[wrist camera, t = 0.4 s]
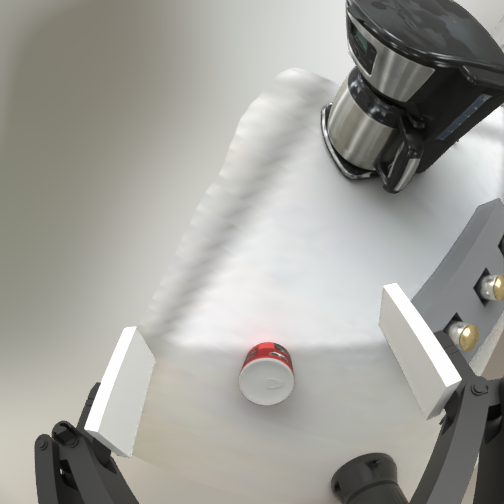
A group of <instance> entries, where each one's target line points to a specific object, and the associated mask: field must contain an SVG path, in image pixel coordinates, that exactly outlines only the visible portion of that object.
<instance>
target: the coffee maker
mask: <svg viewBox="0 0 504 504" xmlns="http://www.w3.org/2000/svg"><path fill="white" fill-rule="evenodd" d="M346 27H347V40H348V48H349V51H350V54H351V56H352V58H353V61H354V62H355V64H356V66H355V67H354V68H353V69H352V70H351V71H350V73H349V74H348V76H347V77H346V79H345V80H344V82H343V83H342V85H341V87H340V89H339V91H338V93H337V95H336V97H335V99H334V102H333V103H329V104H326V105H325V106H323V109H322V112H321V125H322V132H323V136H324V139H325V143H326V145H327V148H328V150H329V152H330V154H331V156H332V158H333V160H334V161H335V163H336V164H337V166H338V168H339V169H340V170H341V172H342V173H343V174H344V175H345V176H347V177H348V178H350V179H353V180H360V179H367V178H374V177H381V179H382V181H383V182H384V183H385V184H384V186H383V188H384V189H385V190H386V191H387V192H389V193H395V194H396V193H398V192H399V191H401V190H402V189H403V188H404V187H405V186H406V185H407V184H408V183H409V181H410V180H411V178H412V177H413V175H414V174H416V173H421V172H423V171H425V170H426V169H428V168H429V167H430V166H431V165H432V164H433V163H434V162H435V161H436V160H437V159H438V158H439V157H440V156H441V155H442V154H443V153H445V152H446V151H447V150H448V149H449V148H450V147H451V146H452V145H453V144H454V143H455V142H456V141H457V142H458V141H459V139H460V138H461V137H462V136H463V135H465V134H466V133H467V132H468V131H470V129H471V128H473V127H474V126H475V125H476V124H478V123H479V122H480V121H482V120H483V119H484V118H485V117H487V116H488V115H489V114H490V113H491V112H493V111H494V110H495V109H496V108H498V107H499V106H500V105H501V104H503V103H504V52H503V51H502V49H501V48H500V47H499V45H498V44H497V43H496V41H495V40H494V39H493V38H492V36H491V35H490V34H489V33H488V32H487V30H486V29H485V28H484V27H483V26H482V25H481V24H480V23H479V22H478V21H477V20H476V19H475V18H474V17H473V16H472V15H471V14H470V13H469V12H468V11H467V10H465V9H464V8H463V7H462V6H460V5H459V4H457V3H456V2H454V1H453V0H346Z"/></svg>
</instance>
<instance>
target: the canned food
mask: <svg viewBox="0 0 504 504" xmlns="http://www.w3.org/2000/svg"><path fill="white" fill-rule="evenodd" d="M239 388H240V391H241V393H242V394H243V395H244V397H245V398H246V399H248V400H249V401H250V402H252V403H254V404H258V405H262V406H271V405H276V404H279V403H281V402H283V401H284V400H285V399H287V398H288V397H289V395H290V394H291V393H292V391H293V388H294V373H293V368H292V362H291V358H290V355H289V353H288V351H287V350H286V349H285V348H284V347H282V346H281V345H279V344H276V343H270V342H267V343H261V344H258V345H256V346H255V347H253V348H252V349H251V350H250V351H249V353H248V355H247V357H246V360H245V362H244V365H243V367H242V370H241V372H240V375H239Z"/></svg>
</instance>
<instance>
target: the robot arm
mask: <svg viewBox="0 0 504 504" xmlns="http://www.w3.org/2000/svg"><path fill="white" fill-rule="evenodd" d="M379 326H380V328H381V330H382V332H383V334H384V336H385V338H386V339H387V341H388V343H389V345H390V347H391V349H392V351H393V353H394V355H395V357H396V359H397V361H398V363H399V365H400V367H401V369H402V371H403V373H404V375H405V377H406V379H407V381H408V383H409V385H410V388H411V390H412V392H413V394H414V396H415V398H416V401H417V403H418V405H419V407H420V410H421V412H422V414H423V416H424V419H425V421H426V420H428V419H431V418H433V417H435V416H437V415H439V414H440V413H441V411H442V410H443V409H445V411H446V414H445V416H444V417H443V419H442V420H441V422H440V423H439V424H440V425H441V424H442V423H443V424H442V427H441V430H440V433H439V436H438V439H437V442H436V445H435V447H434V450H433V453H432V455H431V458H430V460H429V462H428V465H427V467H426V470H425V472H424V474H423V476H422V478H421V481H420V483H419V485H418V487H417V489H416V491H415V493H414V495H413V497H412V499H411V501H410V503H409V502H408V501H407V499H406V497H405V496H404V494H403V492H402V490H401V489H400V487H399V485H398V484H397V467H396V464H395V462H394V461H393V459H392V458H391V457H390V456H389V455H387V454H383V453H371V454H366V455H362V456H360V457H357V458H355V459H353V460H351V461H349V462H348V463H346V464H345V465H343V466H342V467H341V468H340V469H339V470H338V471H337V472H336V473H335V475H334V476H333V479H332V482H331V486H332V490H333V493H334V495H335V496H336V497H337V499H338V500H339V501H340V502H341V503H342V504H461V502H462V499H463V497H464V494H465V492H466V489H467V486H468V484H469V481H470V478H471V476H472V472H473V470H474V466H475V463H476V460H477V457H478V453H479V463H478V473H477V482H476V488H475V494H474V500H473V504H504V377H503V378H500V379H495V380H490V381H487V380H486V379H485V378H483V377H481V376H476V375H475V374H474V372H473V371H472V369H471V368H470V366H469V364H468V363H467V361H466V360H465V358H464V357H463V355H462V354H461V352H459V349H458V348H457V346H456V345H455V343H454V342H453V341H452V339H451V338H450V336H449V335H447V334H446V333H444V332H443V331H442V330H440V331H437V332H434V333H432V332H431V330H430V329H429V327H428V326H427V324H426V323H425V321H424V320H423V319H422V317H421V316H420V314H419V313H418V312H417V310H416V309H415V307H414V306H413V305H412V303H411V302H410V301H409V299H408V298H407V297H406V295H405V294H404V293H403V291H402V290H401V289H400V287H399V286H398V285H397V283H394V284H389V285H385V286H383V295H382V304H381V312H380V320H379ZM155 361H156V360H155V358H154V356H153V355H152V353H151V351H150V350H149V348H148V346H147V345H146V343H145V341H144V340H143V338H142V336H141V334H140V332H139V331H138V329H137V327H128V328H125V329H124V331H123V333H122V335H121V338H120V340H119V342H118V344H117V347H116V349H115V351H114V353H113V356H112V358H111V360H110V363H109V365H108V368H107V370H106V372H105V375H104V377H103V380H102V382H101V383H98V382H97V383H96V384H95V385H94V387H93V388H92V389H91V391H90V393H89V396H88V400H87V401H86V403H85V406H84V408H83V411H82V414H81V416H80V419H79V422H78V425H77V427H76V428H75V427H74V426H72V425H71V424H70V423H69V422H67V421H61V422H58V423H57V424H56V425H55V426H54V428H53V430H52V438H51V437H50V436H49V435H47V434H42V435H40V436H39V437H38V438H37V439H36V441H35V473H36V485H37V495H38V503H39V504H139V502H138V501H137V499H136V498H135V496H134V495H133V493H132V492H131V490H130V488H129V486H128V485H127V483H126V481H125V479H124V478H123V476H122V474H121V472H120V471H119V469H118V467H117V465H116V463H115V461H114V459H113V458H112V457H111V456H110V455H111V451H112V452H114V453H115V454H116V455H118V456H122V457H128V458H131V455H132V451H133V446H134V442H135V438H136V433H137V429H138V425H139V421H140V417H141V413H142V409H143V405H144V401H145V397H146V393H147V390H148V386H149V382H150V379H151V375H152V371H153V368H154V364H155ZM60 469H61V470H62V474H61V473H60Z"/></svg>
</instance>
